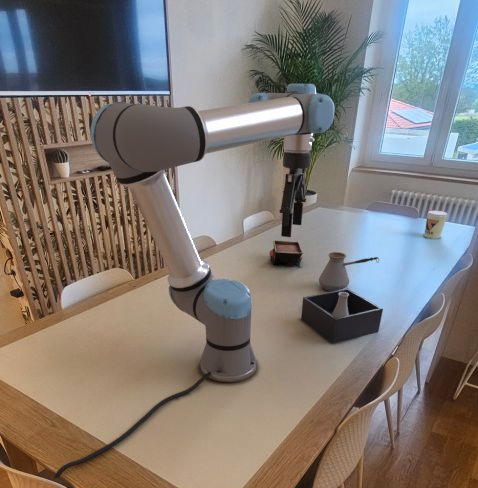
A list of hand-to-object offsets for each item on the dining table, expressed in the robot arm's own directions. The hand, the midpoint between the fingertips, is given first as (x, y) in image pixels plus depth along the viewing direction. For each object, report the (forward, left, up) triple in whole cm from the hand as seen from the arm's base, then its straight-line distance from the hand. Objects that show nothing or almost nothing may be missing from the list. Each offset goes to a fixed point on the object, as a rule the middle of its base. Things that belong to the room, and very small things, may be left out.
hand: (291, 230), depth 129 cm
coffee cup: (+117, +49, -29) cm, 130 cm away
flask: (+13, -12, -28) cm, 33 cm away
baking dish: (+28, +47, -29) cm, 62 cm away
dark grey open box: (+12, -12, -29) cm, 34 cm away
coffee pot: (+32, +10, -29) cm, 44 cm away
